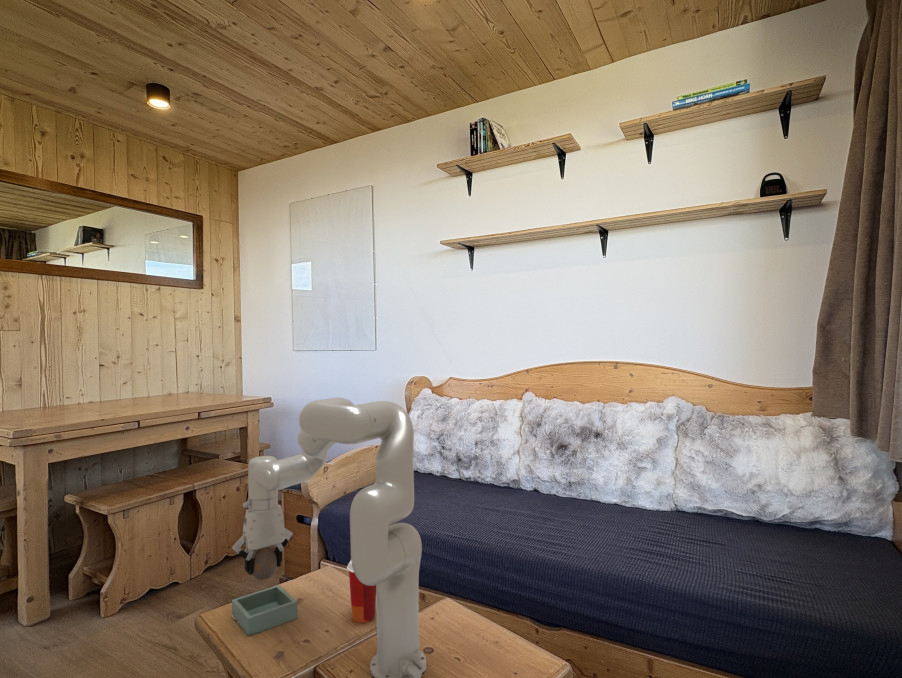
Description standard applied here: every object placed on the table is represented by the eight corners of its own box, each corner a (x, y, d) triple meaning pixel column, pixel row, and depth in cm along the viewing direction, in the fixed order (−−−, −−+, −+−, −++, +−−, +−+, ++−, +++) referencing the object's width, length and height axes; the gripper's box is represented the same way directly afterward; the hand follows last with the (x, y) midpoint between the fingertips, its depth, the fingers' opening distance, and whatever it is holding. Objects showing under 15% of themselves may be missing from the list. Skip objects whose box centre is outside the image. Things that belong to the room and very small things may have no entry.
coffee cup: (378, 608, 141) (377, 553, 141) (379, 623, 133) (378, 566, 133) (348, 611, 139) (347, 556, 140) (347, 627, 131) (346, 569, 132)
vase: (271, 582, 134) (271, 549, 134) (245, 582, 134) (245, 549, 134) (280, 571, 141) (280, 539, 141) (256, 571, 141) (256, 539, 141)
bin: (297, 618, 136) (297, 601, 136) (248, 636, 128) (247, 618, 128) (278, 600, 146) (278, 584, 146) (231, 616, 138) (231, 599, 138)
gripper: (234, 513, 129) (234, 583, 129) (299, 499, 140) (300, 564, 140) (225, 506, 135) (225, 574, 134) (288, 493, 146) (289, 556, 146)
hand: (263, 568), depth 137 cm, fingers closed on vase, 6 cm apart
